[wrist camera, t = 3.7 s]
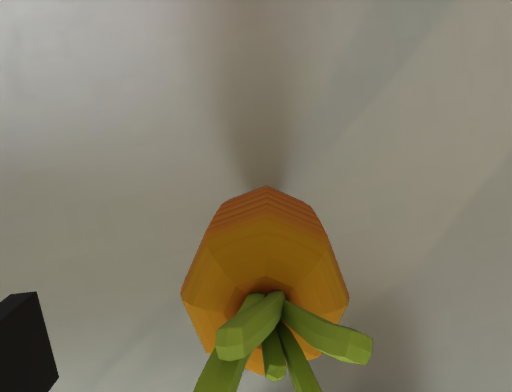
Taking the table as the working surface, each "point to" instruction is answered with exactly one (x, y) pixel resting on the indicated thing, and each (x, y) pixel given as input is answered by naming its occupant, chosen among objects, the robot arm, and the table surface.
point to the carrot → (268, 294)
